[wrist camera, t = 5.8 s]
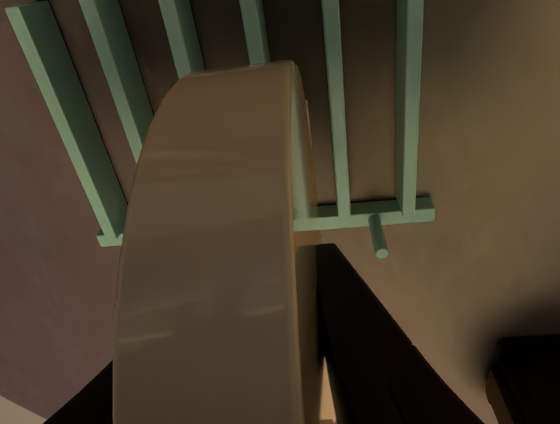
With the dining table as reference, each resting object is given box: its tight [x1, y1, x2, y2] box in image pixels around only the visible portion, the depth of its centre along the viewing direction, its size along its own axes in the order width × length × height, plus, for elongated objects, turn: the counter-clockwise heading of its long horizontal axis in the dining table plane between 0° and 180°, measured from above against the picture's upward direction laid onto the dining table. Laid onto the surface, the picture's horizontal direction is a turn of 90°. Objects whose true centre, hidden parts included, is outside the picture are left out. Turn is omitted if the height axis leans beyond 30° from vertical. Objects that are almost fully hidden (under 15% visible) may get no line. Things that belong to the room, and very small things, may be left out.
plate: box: [113, 59, 333, 424], centre depth 8 cm, size 2×9×10 cm, turn 8°
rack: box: [5, 0, 435, 259], centre depth 18 cm, size 18×13×4 cm
